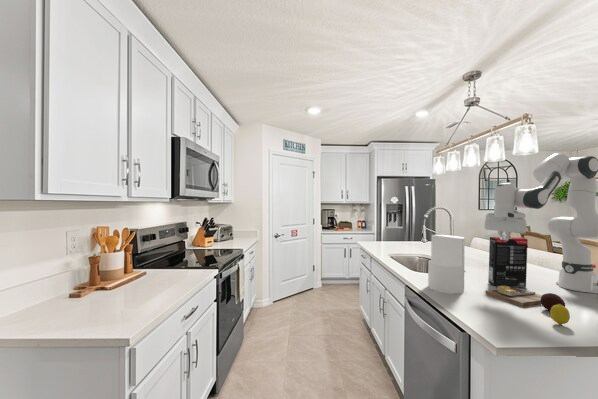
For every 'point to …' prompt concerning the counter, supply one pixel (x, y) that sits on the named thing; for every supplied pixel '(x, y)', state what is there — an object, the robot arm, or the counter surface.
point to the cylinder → (446, 264)
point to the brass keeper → (505, 289)
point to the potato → (551, 300)
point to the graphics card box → (508, 262)
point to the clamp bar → (520, 293)
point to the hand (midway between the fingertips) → (504, 240)
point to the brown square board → (517, 298)
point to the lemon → (560, 314)
